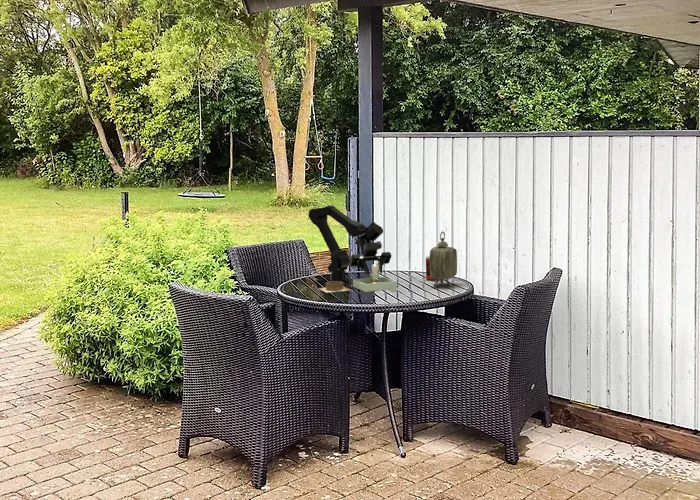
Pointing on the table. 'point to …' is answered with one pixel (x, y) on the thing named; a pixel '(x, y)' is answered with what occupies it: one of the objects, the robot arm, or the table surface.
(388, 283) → the bin
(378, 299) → the table surface
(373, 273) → the spice shaker
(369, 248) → the robot arm
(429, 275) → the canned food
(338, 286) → the socket block
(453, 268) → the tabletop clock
